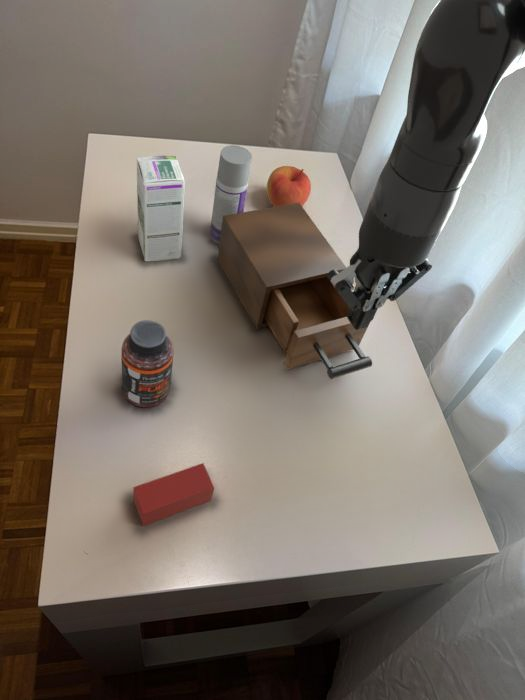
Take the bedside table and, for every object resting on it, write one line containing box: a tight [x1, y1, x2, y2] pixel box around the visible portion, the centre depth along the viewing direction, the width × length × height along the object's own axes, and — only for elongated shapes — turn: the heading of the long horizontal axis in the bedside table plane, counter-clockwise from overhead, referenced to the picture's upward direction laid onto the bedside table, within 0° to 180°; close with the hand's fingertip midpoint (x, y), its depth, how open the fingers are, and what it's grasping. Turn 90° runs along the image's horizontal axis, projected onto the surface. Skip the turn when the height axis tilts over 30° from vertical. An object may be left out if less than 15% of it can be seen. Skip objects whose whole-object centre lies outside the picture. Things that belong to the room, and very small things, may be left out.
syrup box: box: [136, 155, 186, 262], centre depth 83 cm, size 6×6×14 cm
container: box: [209, 144, 253, 245], centre depth 87 cm, size 5×5×15 cm
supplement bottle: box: [120, 319, 174, 408], centre depth 68 cm, size 6×6×11 cm
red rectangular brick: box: [133, 463, 215, 527], centre depth 63 cm, size 8×3×3 cm, turn 115°
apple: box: [266, 165, 312, 207], centre depth 96 cm, size 7×7×8 cm
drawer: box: [264, 277, 373, 380], centre depth 78 cm, size 19×11×7 cm, turn 25°
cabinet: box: [216, 203, 347, 330], centre depth 84 cm, size 15×13×9 cm
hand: (357, 323), depth 69 cm, fingers closed
